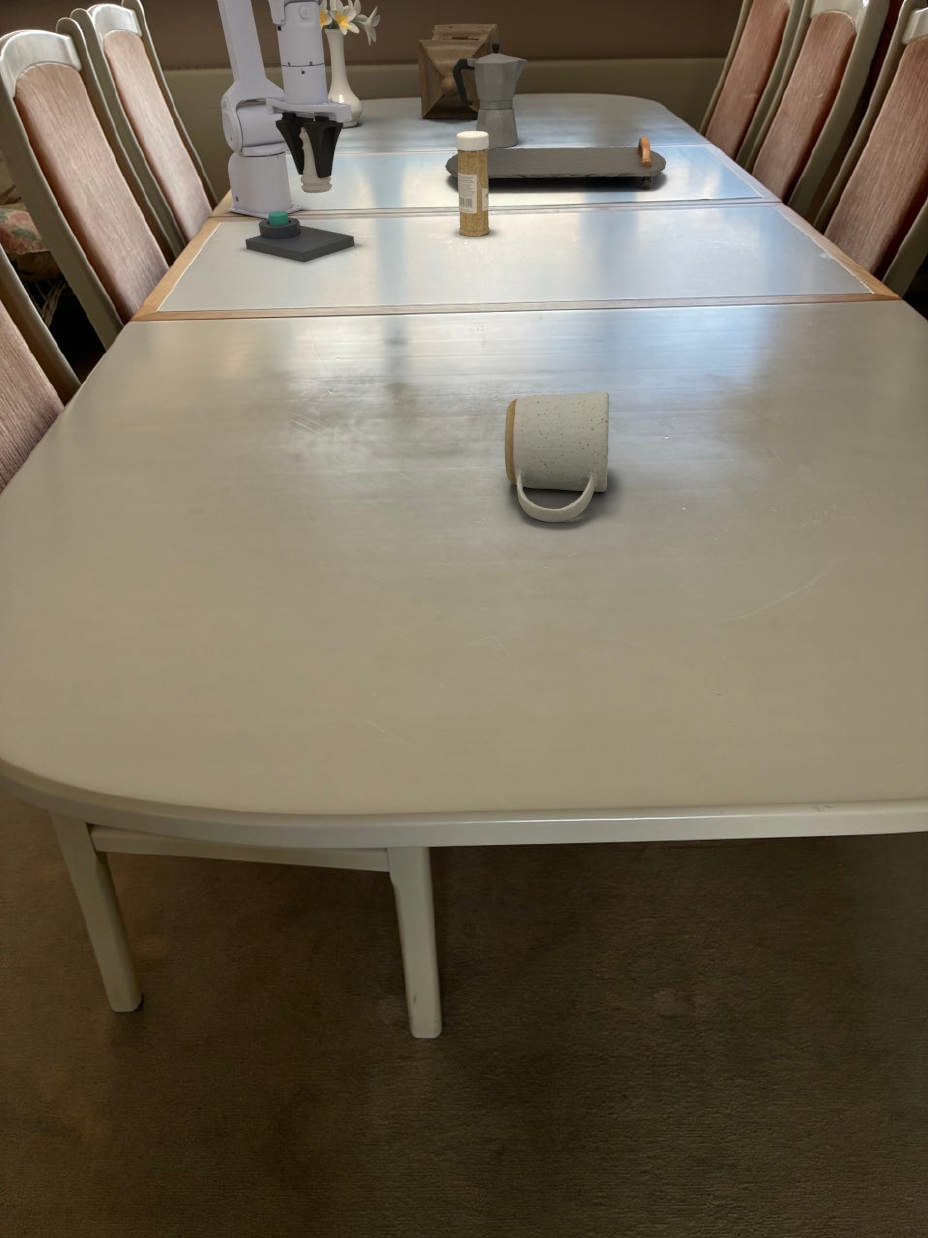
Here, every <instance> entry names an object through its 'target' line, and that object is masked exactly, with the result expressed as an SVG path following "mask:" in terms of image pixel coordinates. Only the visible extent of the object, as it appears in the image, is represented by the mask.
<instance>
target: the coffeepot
mask: <svg viewBox="0 0 928 1238" xmlns="http://www.w3.org/2000/svg"><path fill="white" fill-rule="evenodd" d="M500 46H501V44H500V43H499V42H498V43H493V44H492V49H493V54H490V55H487V56H484V57H482V58H479V59H467V58H466V59H459V60H458V62H457V63H456V65H455V66H454V67H453V70H452V74H453V77H454V80H455V83H456V86H457V89H458V92H459V95H460V98H461V101H462V104H463V105H466V106H471V105H472V104H473V100H468V99H467V96H466V89H465V87H464V84H463V77H462V75H461V71H462V70H463V69H467V70H474V74H475V81H476V88H477V95H478V99H480V109H479V112H478V118H477V121H476V128H475V131H482V132H486V133H488V136H489V147H488V148H487V149H507V148H512V147H515V146H517V145H518V142H519V137H518V129H517V123H516V114H515V108H514V107H513V106H514V100H513V99H515V94H516V87H517V82H518V80H519V79H520V76H521V74H522V72H523V70H524V69H525V67H526V66H527V65H528V64H529V61H528V60H527V59H525V58H520V57H515V56H510V55H506V54H502V53H500Z"/></svg>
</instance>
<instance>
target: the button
mask: <svg viewBox="0 0 928 1238" xmlns="http://www.w3.org/2000/svg"><path fill="white" fill-rule="evenodd" d="M288 217H289V213H287V212H284V211H275V212H271V213H269V214H268V218H269V225H285V224H288V223H289V219H288Z"/></svg>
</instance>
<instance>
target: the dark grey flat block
mask: <svg viewBox="0 0 928 1238" xmlns="http://www.w3.org/2000/svg"><path fill="white" fill-rule="evenodd" d="M288 219H289V223H288V224H285V225H269V219H262V220H261V221H260V222H258V229H259V235H256V236H252V237H249V238H246V239H245V247H246V250H249V251H254V252H258V253H261V254H267V255H271V256H275V257H279V258H284V259H288V260H293V261H296V262H301V263H307V262H310V261H313V260H317V259H319V258H322V257H325V256H328V255H331V254H335V253H337V252H339V251H343V250H346V249H349V248H352V247H355V244H356V243H355V236H354V235H350V234H345V233H339V232H334V231H329V230H325V229H320V228H316V227H311V226H305V225H301V222H300V220H299V219H298V218H296V217H291V216H288Z"/></svg>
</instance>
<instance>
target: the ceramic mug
mask: <svg viewBox="0 0 928 1238" xmlns="http://www.w3.org/2000/svg"><path fill="white" fill-rule="evenodd" d="M609 410H610V394H609V393H608V392H607V391H595V392H583V393H582V392H580V393H564V394H562V393H560V394H538V395H536V394H535V395H527V396H523V397H519V398H515V399H513V400H511V401H510V402H509V404H508V406H507V409H506V415H505V425H504V426H505V428H504V463H505V465H504V466H505V474H506V476H507V479H508V481H509V482H510V483H511V484H512V485H515V486H516V493H517V498H518V502H519V504H520V506H521V509H522V510H523V511H524V513H526V514H527V515H528V516H530V517H532V518H533V519H536V520H538V521H542V522H545V523H563V522H568V521H570V520H573V519H575V518H576V517H578V516H579V515H582V513H583V512H584V511H585V510H586V508H587V507H588V506H589V503H590V501H592V497H593V495H594V492H595V493H603V492H606V491H607V486H608V463H609V424H610V423H609V415H610V413H609V412H610V411H609ZM524 488H527V489H543V490H544V489H545V490H549V489H550V490H562V491H563V490H564V491H574V492H575V491H577V492H582V494H581V495H580V496H579V497H578V498H577V499H575V500H574V501H573V502H570V504H568V505H566V506H563V507H561V508H548V507H547V508H546V507H542V506H540V505H538V504H535V503H534V502H533V501H531V500H529V499H528V497H527V495H526V494H525V492H524V490H523V489H524Z"/></svg>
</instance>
